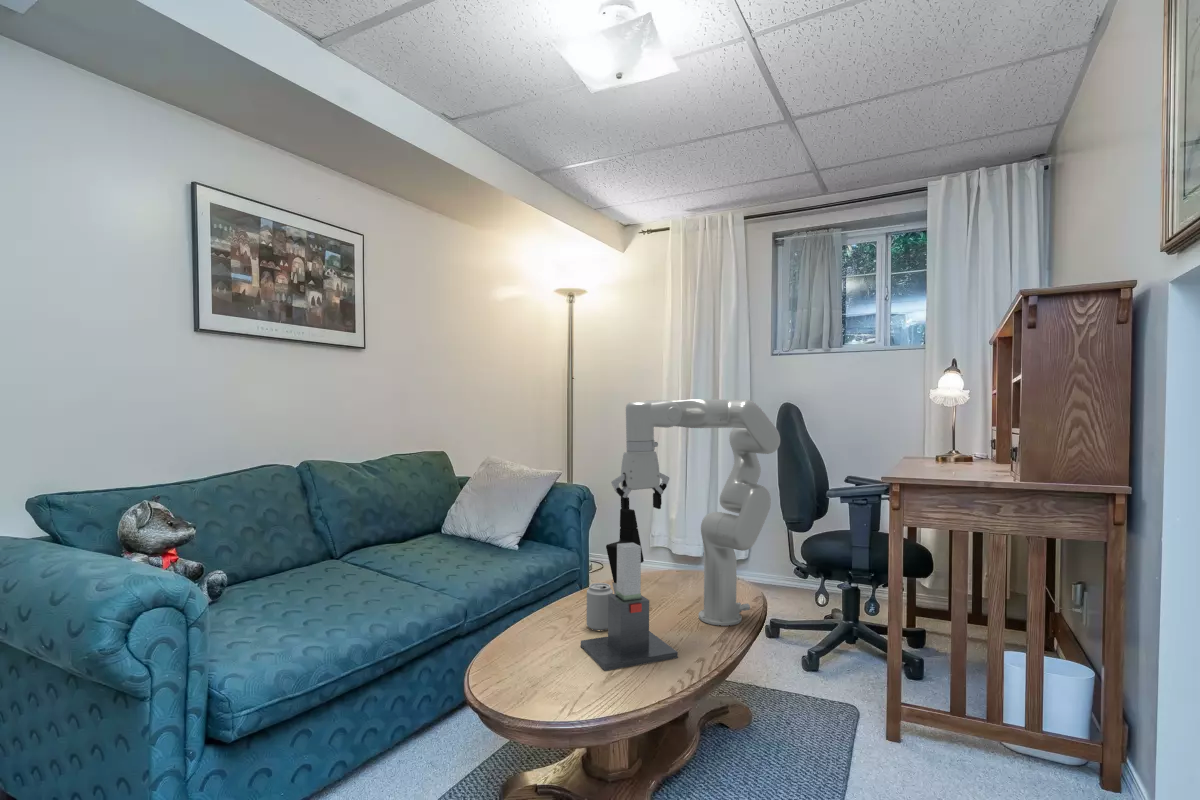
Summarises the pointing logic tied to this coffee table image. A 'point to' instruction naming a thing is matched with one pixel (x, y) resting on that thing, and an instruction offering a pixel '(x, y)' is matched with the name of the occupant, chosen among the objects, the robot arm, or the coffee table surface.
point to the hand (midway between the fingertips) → (641, 509)
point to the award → (623, 540)
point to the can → (598, 606)
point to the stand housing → (627, 637)
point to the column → (628, 572)
